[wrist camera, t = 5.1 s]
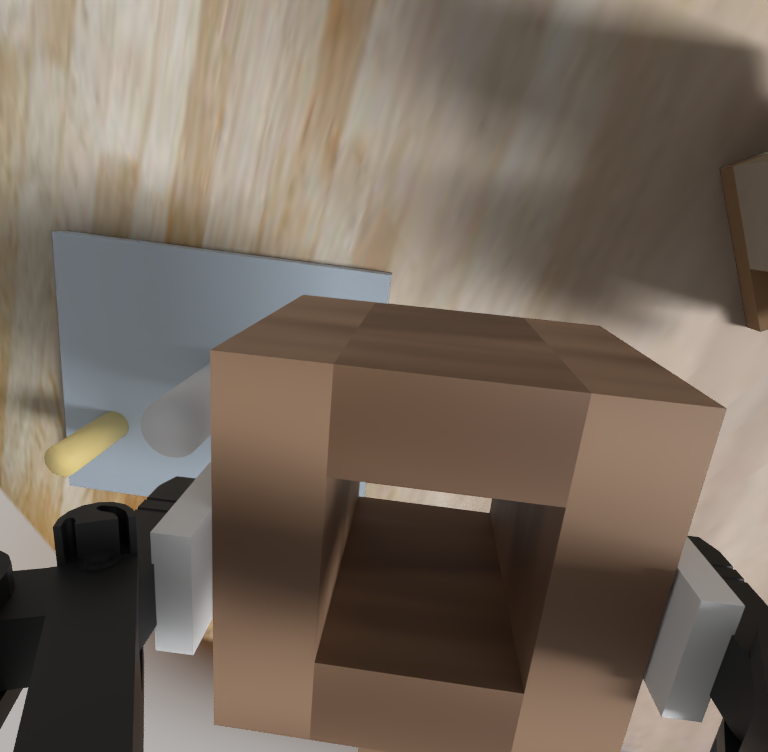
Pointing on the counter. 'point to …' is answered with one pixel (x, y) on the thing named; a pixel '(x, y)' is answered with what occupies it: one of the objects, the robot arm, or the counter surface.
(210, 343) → the post board
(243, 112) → the counter surface
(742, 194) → the toy
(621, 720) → the tabbed square frame
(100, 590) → the robot arm
